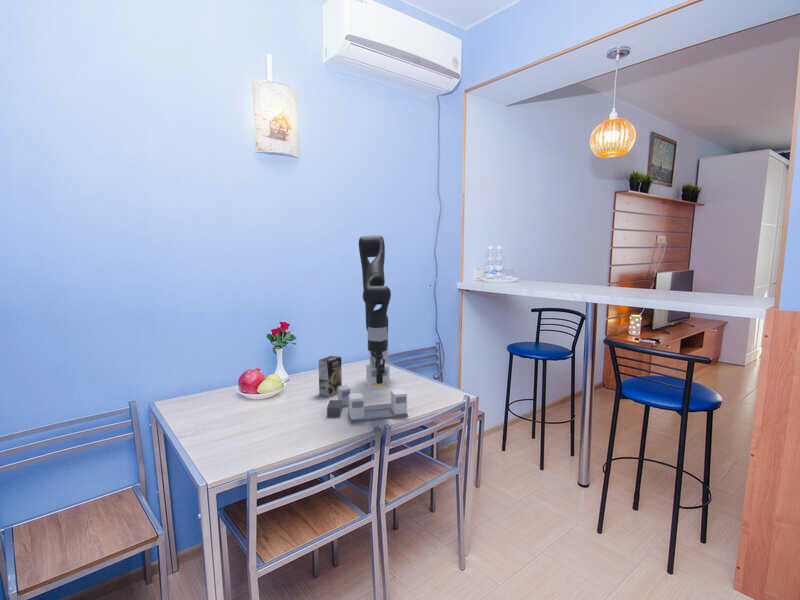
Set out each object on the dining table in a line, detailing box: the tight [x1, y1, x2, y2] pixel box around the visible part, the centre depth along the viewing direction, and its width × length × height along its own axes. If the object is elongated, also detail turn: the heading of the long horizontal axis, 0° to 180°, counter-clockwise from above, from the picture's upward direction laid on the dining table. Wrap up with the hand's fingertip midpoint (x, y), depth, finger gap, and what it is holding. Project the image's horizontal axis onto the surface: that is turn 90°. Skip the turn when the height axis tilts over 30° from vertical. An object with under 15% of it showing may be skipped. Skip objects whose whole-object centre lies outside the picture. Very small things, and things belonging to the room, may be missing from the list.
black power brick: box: [326, 399, 343, 418], centre depth 166 cm, size 8×5×4 cm, turn 2°
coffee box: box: [318, 355, 343, 397], centre depth 188 cm, size 9×6×16 cm
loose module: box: [365, 363, 391, 390], centre depth 160 cm, size 5×8×8 cm, turn 105°
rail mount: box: [347, 388, 409, 424], centre depth 163 cm, size 9×22×9 cm, turn 105°
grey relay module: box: [337, 384, 351, 407], centre depth 175 cm, size 5×4×7 cm
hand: (378, 380), depth 160 cm, fingers closed on loose module, 5 cm apart
